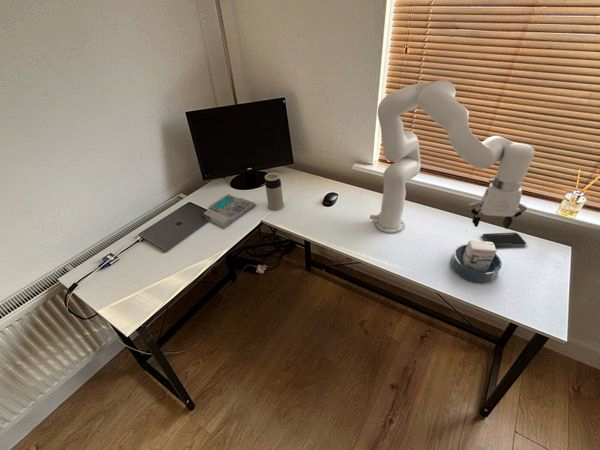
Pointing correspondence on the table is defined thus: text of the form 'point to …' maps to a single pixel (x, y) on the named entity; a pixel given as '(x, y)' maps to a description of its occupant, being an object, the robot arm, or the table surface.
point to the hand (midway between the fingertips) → (489, 225)
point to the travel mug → (274, 191)
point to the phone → (504, 239)
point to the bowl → (470, 274)
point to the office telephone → (228, 210)
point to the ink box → (478, 255)
